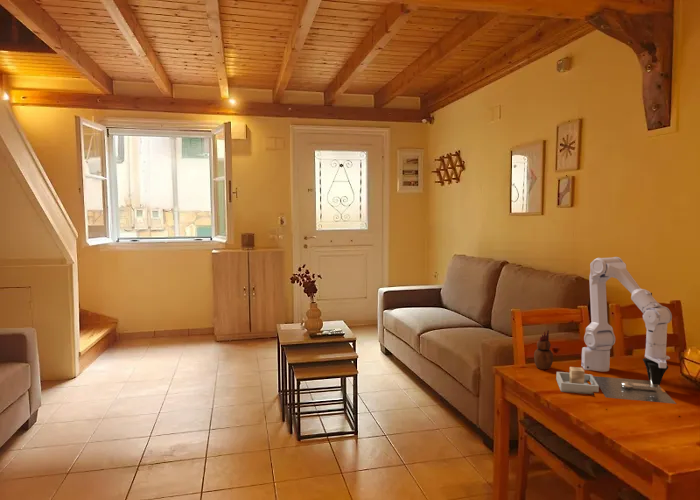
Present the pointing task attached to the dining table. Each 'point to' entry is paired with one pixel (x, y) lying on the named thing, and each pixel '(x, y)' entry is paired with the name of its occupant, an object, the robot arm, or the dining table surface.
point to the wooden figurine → (543, 353)
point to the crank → (640, 385)
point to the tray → (576, 388)
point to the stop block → (576, 375)
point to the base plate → (631, 390)
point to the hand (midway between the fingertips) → (654, 382)
